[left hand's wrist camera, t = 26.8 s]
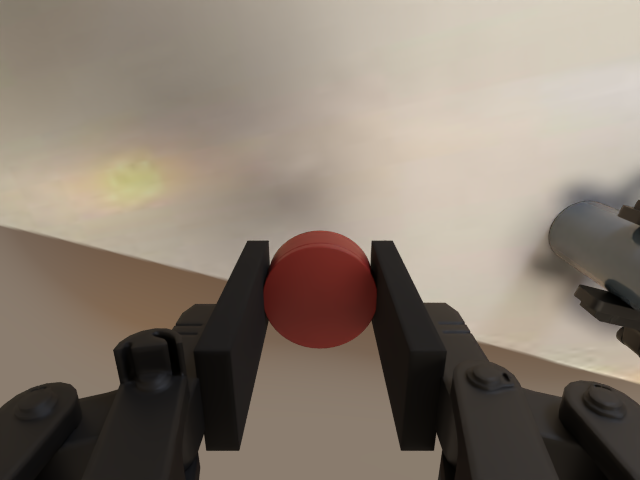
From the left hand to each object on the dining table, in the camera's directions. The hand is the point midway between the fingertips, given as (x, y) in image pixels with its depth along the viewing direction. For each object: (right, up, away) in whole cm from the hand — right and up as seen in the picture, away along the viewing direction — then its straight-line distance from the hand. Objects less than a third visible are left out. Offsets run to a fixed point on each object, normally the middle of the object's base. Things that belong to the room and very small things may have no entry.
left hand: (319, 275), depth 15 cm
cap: (0, -1, -1) cm, 1 cm away
